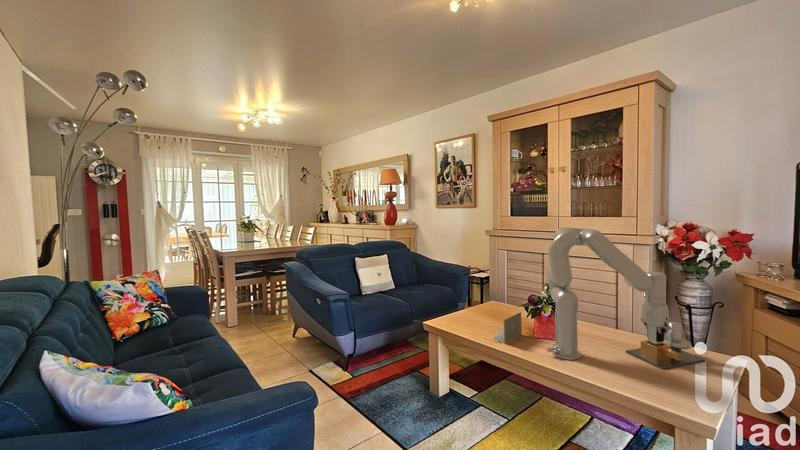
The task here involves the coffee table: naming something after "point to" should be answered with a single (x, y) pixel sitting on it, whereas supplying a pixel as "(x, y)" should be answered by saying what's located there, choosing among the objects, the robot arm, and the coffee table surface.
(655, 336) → the grey block
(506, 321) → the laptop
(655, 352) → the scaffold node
